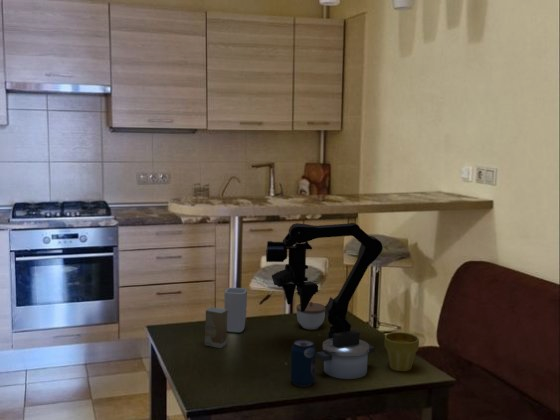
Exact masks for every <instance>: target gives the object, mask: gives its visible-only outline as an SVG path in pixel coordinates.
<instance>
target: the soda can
mask: <svg viewBox="0 0 560 420" xmlns="http://www.w3.org/2000/svg"><path fill="white" fill-rule="evenodd" d="M290 350H291V352H290V380H291V382H292V384H293V385H295V386H297V387H309V386H311V385H312V384H313V383H314V382H315V379H316V375H315V374H316V347H315V343H314V341H312V340H310V339H305V338H304V339H302V338H301V339H296V340H294V341H293V345H292V346H291V349H290Z"/></svg>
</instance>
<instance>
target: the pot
mask: <svg viewBox="0 0 560 420" xmlns="http://www.w3.org/2000/svg"><path fill="white" fill-rule="evenodd" d="M373 353H376V347H374V346H373V345H371V344H369V352H368V353H367V354H365V355H362V356H356V357H343V356H336V355H332V354H330V353H327V352H326V351H324V350H323V351H317V352H316V351H315V358H317V359H319V360H321V361H322V362H323V371H324V373H325V374H326V375H328V376H330V377H333V378H336V379H343V380H355V379H360V378H362V377H365V376H366V375H367V373H368V358H369V357H368V354H373Z"/></svg>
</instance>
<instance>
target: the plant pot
mask: <svg viewBox="0 0 560 420" xmlns="http://www.w3.org/2000/svg"><path fill="white" fill-rule="evenodd" d="M383 345H384V348H385V349H386V354H387V358H388V359H387V360H388V365H389V369H391V370H393V371H397V372H408V371H410V370H411V369H413V368H412V367H413V363H414V360H415V357H416V353H417V351H418V350H419V346H420V338H419V337H418V336H417V335H415V334H413V333H409V332H406V331H405V332H403V331H393V332H388V333H386V334H385V335H384V344H383Z"/></svg>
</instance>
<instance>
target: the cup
mask: <svg viewBox="0 0 560 420" xmlns="http://www.w3.org/2000/svg"><path fill="white" fill-rule="evenodd" d="M247 302H248V289H247V288H244V287H243V288H242V287H227V289H225V291H224V301H223V303H224V309H225V310H228V312H227V332H228V333H232V334H233V333H235V334H240V333H243V331H244V329H245V325H246V318H247V306H248V304H247Z"/></svg>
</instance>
